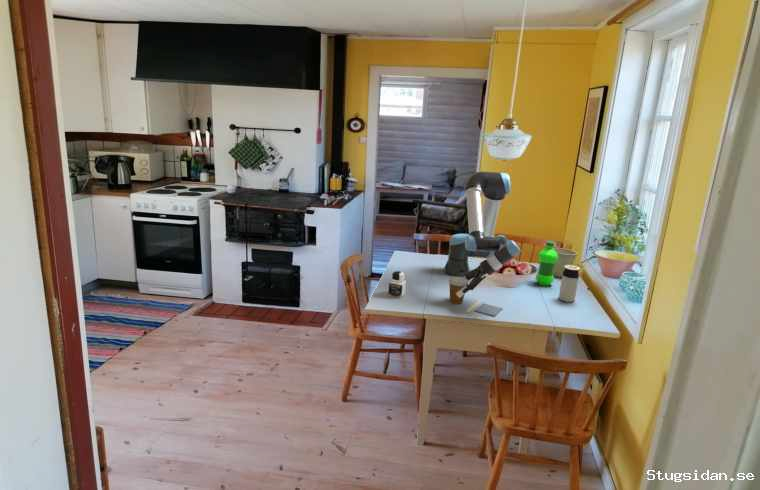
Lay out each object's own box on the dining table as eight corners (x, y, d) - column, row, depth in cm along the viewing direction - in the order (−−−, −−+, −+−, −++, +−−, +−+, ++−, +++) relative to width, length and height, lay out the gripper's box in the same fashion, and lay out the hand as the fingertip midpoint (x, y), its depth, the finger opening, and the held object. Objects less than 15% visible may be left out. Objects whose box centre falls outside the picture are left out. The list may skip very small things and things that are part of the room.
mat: (474, 311, 231) (474, 310, 231) (483, 304, 241) (483, 303, 241) (494, 316, 226) (494, 315, 226) (502, 309, 236) (502, 308, 236)
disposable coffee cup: (466, 299, 246) (468, 277, 243) (465, 306, 237) (468, 283, 234) (447, 297, 247) (449, 275, 244) (445, 303, 238) (448, 280, 235)
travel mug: (574, 303, 251) (580, 270, 246) (558, 300, 253) (564, 268, 249) (574, 298, 258) (580, 266, 254) (558, 295, 261) (564, 264, 256)
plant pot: (556, 280, 288) (560, 254, 284) (542, 272, 302) (546, 247, 298) (577, 279, 292) (582, 254, 287) (563, 272, 305) (567, 247, 301)
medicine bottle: (387, 295, 245) (389, 273, 242) (392, 291, 251) (394, 269, 248) (401, 298, 242) (403, 275, 239) (405, 293, 249) (407, 271, 246)
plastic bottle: (557, 286, 276) (564, 244, 270) (541, 287, 272) (548, 245, 266) (545, 281, 285) (552, 240, 279) (530, 281, 281) (537, 240, 275)
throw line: (466, 311, 230) (466, 311, 230) (477, 302, 244) (477, 301, 243) (468, 312, 230) (468, 311, 230) (480, 302, 243) (480, 302, 243)
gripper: (499, 278, 223) (463, 305, 228) (492, 263, 247) (460, 288, 252) (489, 266, 222) (453, 294, 228) (483, 252, 247) (451, 277, 252)
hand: (456, 291), depth 240 cm, fingers open, 13 cm apart
